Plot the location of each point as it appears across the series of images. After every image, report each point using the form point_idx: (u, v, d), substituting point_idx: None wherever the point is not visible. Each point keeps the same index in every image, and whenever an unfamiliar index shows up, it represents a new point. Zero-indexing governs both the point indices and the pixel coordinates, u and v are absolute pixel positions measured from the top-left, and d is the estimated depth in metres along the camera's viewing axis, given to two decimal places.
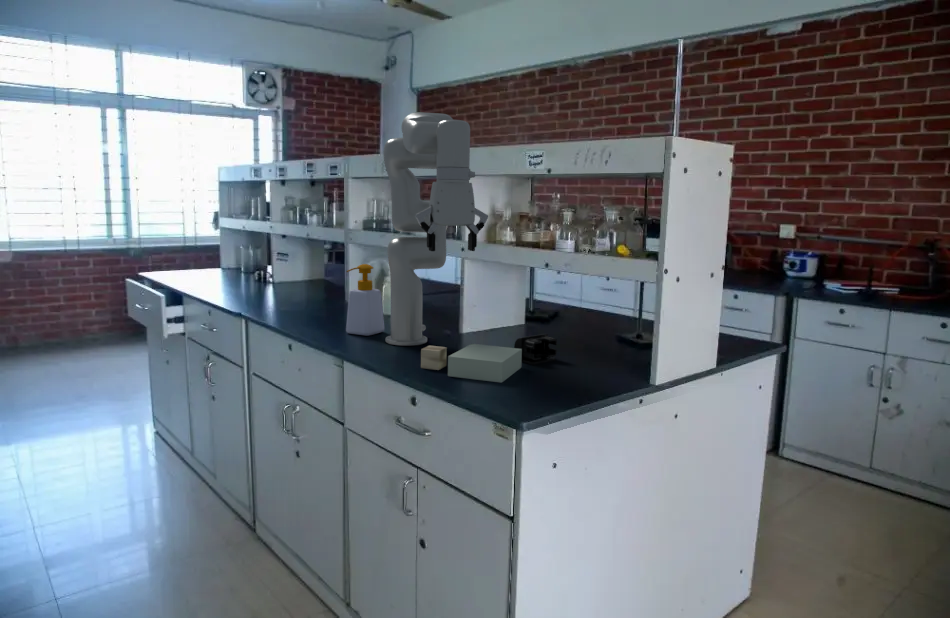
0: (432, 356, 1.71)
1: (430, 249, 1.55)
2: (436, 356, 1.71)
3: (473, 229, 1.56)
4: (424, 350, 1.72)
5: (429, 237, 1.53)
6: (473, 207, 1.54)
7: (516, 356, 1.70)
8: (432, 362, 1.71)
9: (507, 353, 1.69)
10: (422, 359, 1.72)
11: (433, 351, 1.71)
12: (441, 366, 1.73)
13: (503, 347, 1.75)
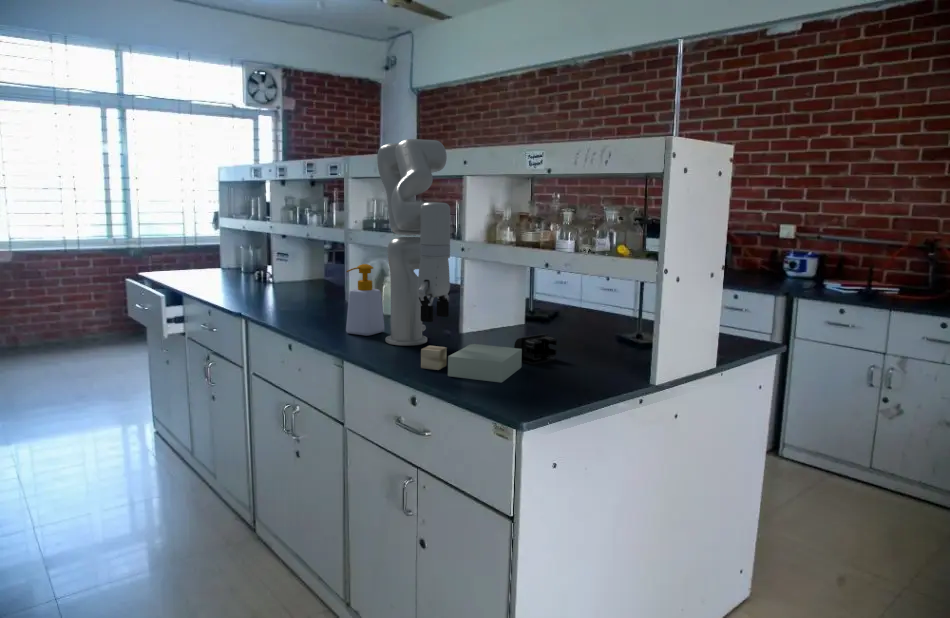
0: (432, 355, 1.71)
1: (426, 320, 1.67)
2: (436, 356, 1.71)
3: (447, 297, 1.75)
4: (424, 350, 1.72)
5: (428, 309, 1.66)
6: (449, 278, 1.74)
7: (516, 356, 1.70)
8: (431, 362, 1.71)
9: (507, 353, 1.69)
10: (422, 359, 1.72)
11: (433, 351, 1.71)
12: (441, 366, 1.73)
13: (503, 347, 1.75)
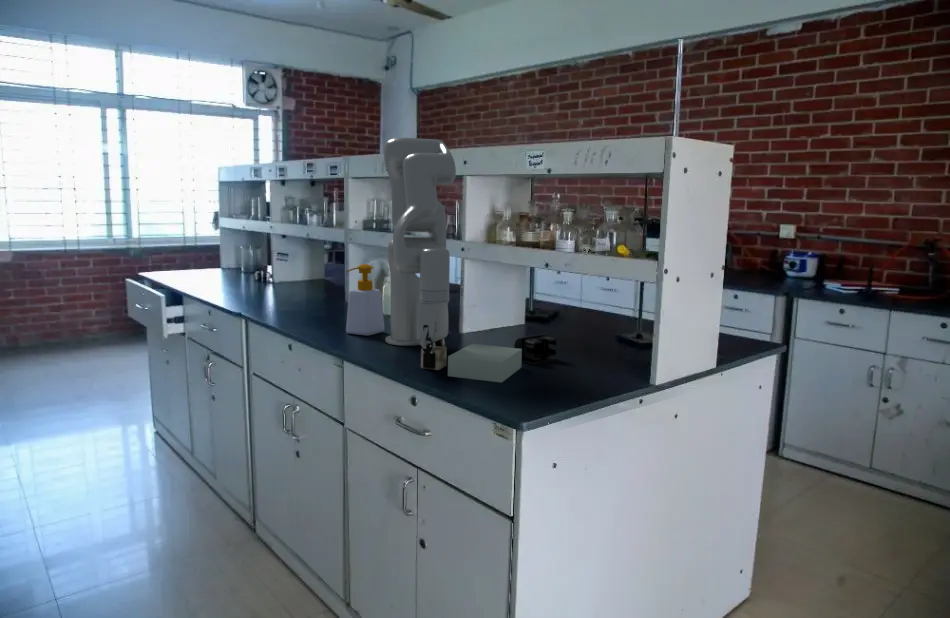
0: None
1: (428, 367, 1.71)
2: (436, 356, 1.71)
3: (443, 343, 1.76)
4: None
5: (430, 357, 1.70)
6: None
7: (516, 356, 1.70)
8: None
9: (507, 353, 1.69)
10: (422, 358, 1.72)
11: None
12: (441, 366, 1.73)
13: (503, 347, 1.75)
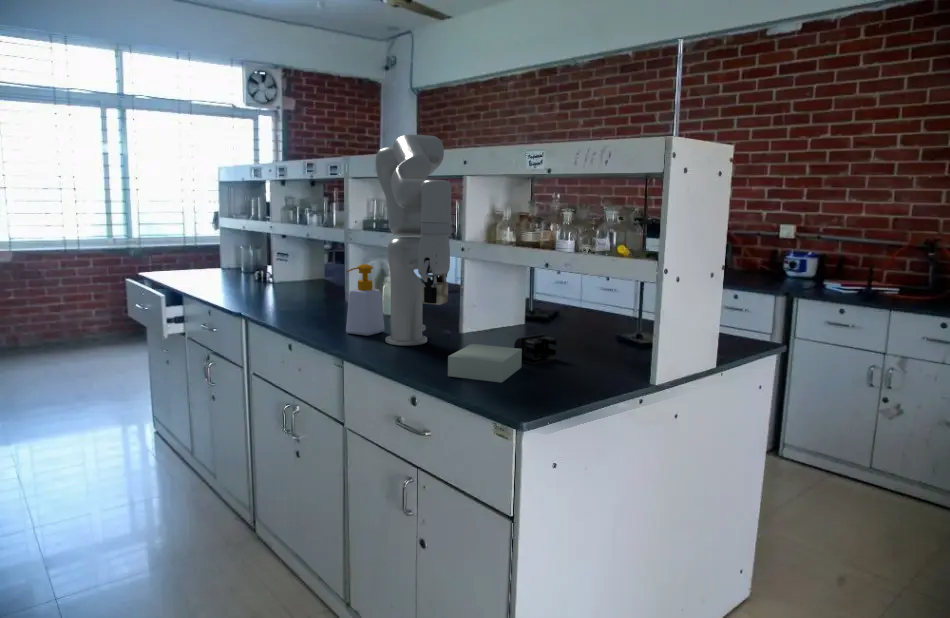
0: None
1: (429, 301, 1.68)
2: (437, 291, 1.68)
3: (444, 279, 1.73)
4: None
5: (431, 291, 1.67)
6: (449, 256, 1.73)
7: (516, 356, 1.70)
8: None
9: (507, 353, 1.69)
10: (423, 293, 1.69)
11: None
12: (442, 301, 1.70)
13: (503, 347, 1.75)
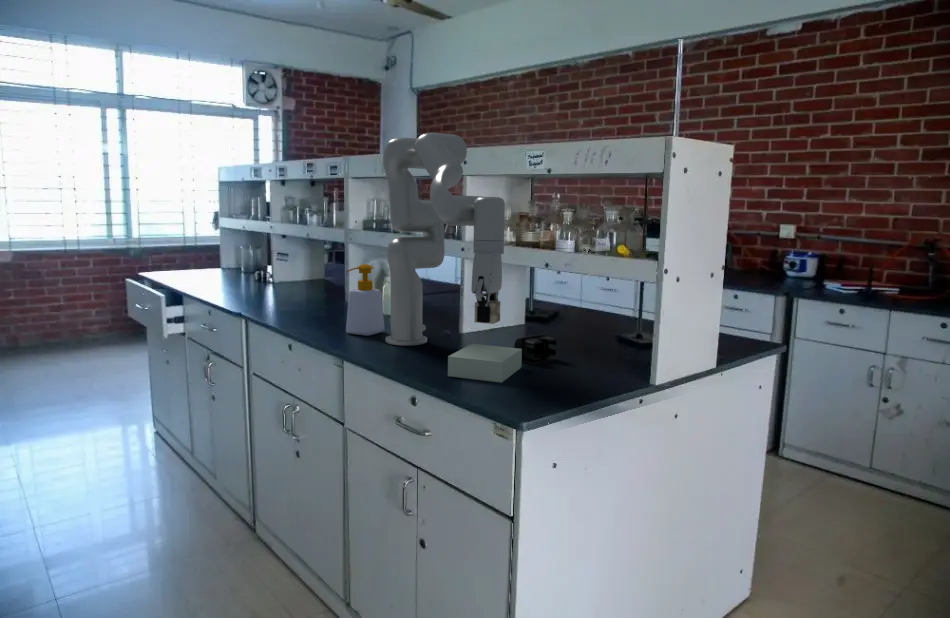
0: None
1: (482, 320, 1.65)
2: (491, 309, 1.64)
3: (496, 298, 1.69)
4: None
5: (485, 310, 1.64)
6: (501, 274, 1.70)
7: (516, 356, 1.70)
8: None
9: (507, 353, 1.69)
10: (476, 312, 1.66)
11: None
12: (495, 320, 1.66)
13: (503, 347, 1.75)
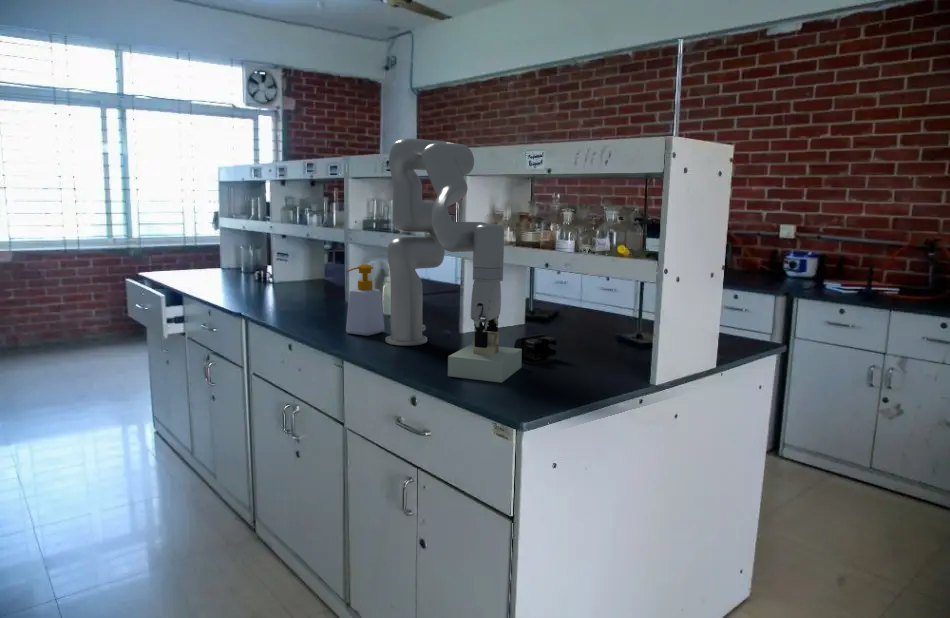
0: None
1: (480, 346, 1.65)
2: (489, 341, 1.66)
3: (496, 322, 1.71)
4: None
5: (483, 335, 1.64)
6: (500, 300, 1.71)
7: (516, 356, 1.70)
8: None
9: (507, 353, 1.69)
10: (474, 344, 1.67)
11: None
12: (494, 351, 1.68)
13: (503, 347, 1.75)
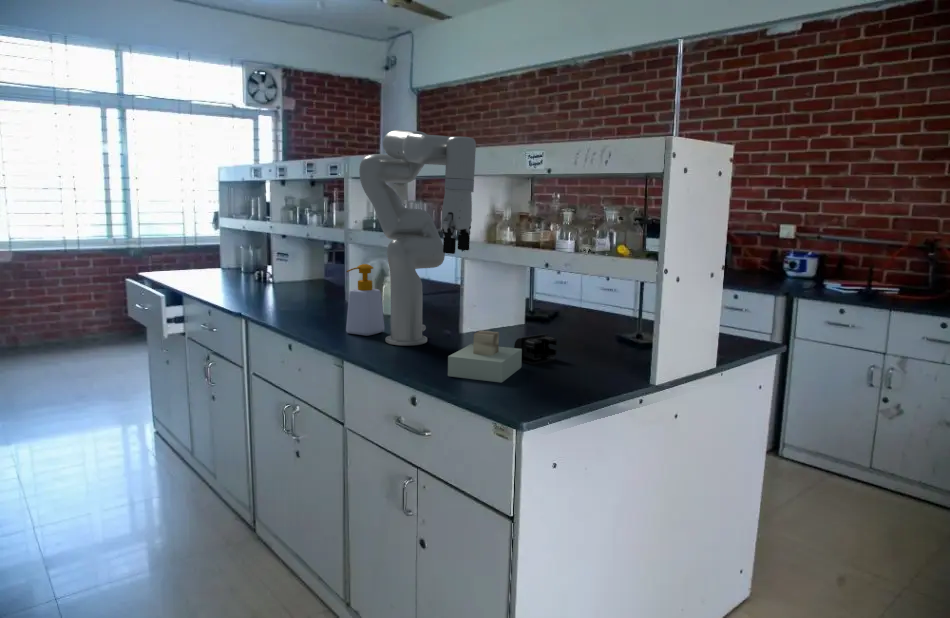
0: (485, 340, 1.66)
1: (448, 252, 1.72)
2: (489, 341, 1.66)
3: (468, 231, 1.80)
4: (477, 335, 1.67)
5: (451, 241, 1.71)
6: (471, 212, 1.79)
7: (516, 356, 1.70)
8: (485, 347, 1.67)
9: (507, 353, 1.69)
10: (474, 344, 1.67)
11: (486, 336, 1.66)
12: (494, 351, 1.68)
13: (503, 347, 1.75)
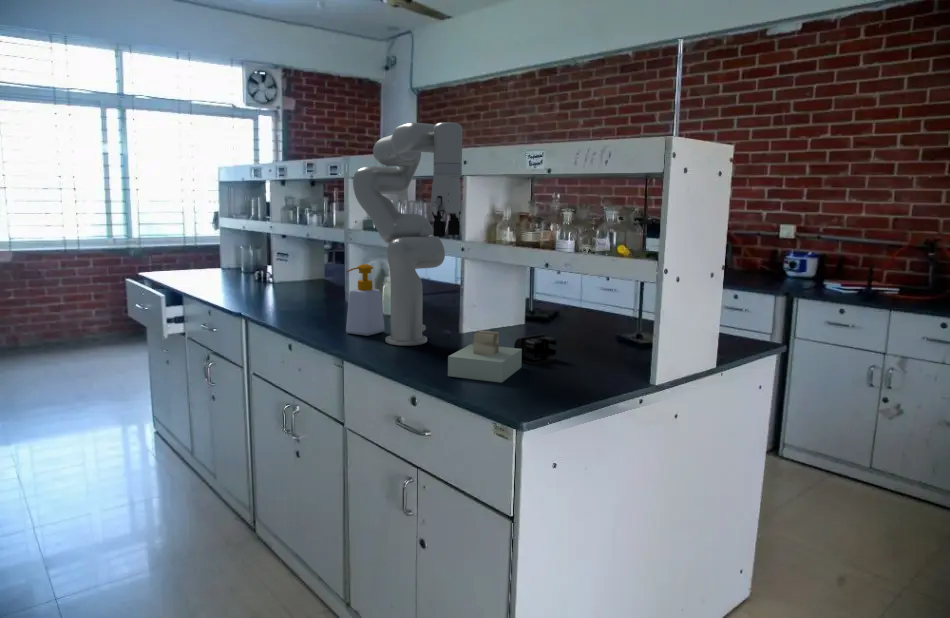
0: (485, 340, 1.66)
1: (438, 235, 1.76)
2: (489, 341, 1.66)
3: (458, 216, 1.84)
4: (477, 335, 1.67)
5: (441, 224, 1.75)
6: (460, 197, 1.82)
7: (516, 356, 1.70)
8: (485, 347, 1.67)
9: (507, 353, 1.69)
10: (474, 344, 1.67)
11: (486, 336, 1.66)
12: (494, 351, 1.68)
13: (503, 347, 1.75)
